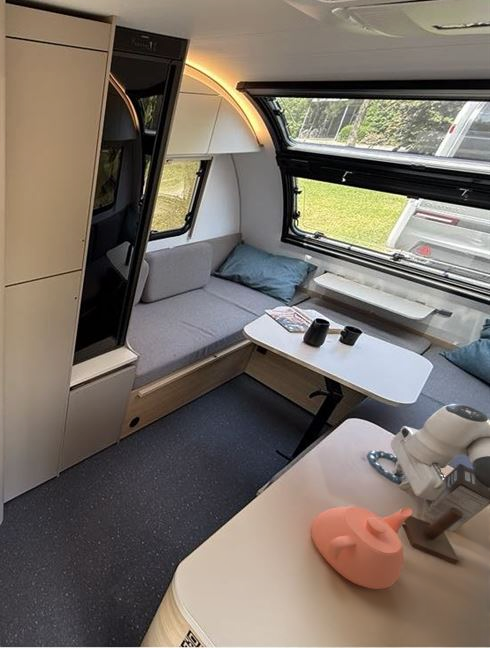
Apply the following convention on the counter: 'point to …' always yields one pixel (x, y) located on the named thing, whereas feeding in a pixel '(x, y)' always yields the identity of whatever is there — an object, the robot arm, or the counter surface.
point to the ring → (374, 463)
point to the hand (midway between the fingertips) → (398, 480)
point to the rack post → (433, 534)
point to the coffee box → (459, 496)
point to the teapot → (361, 544)
